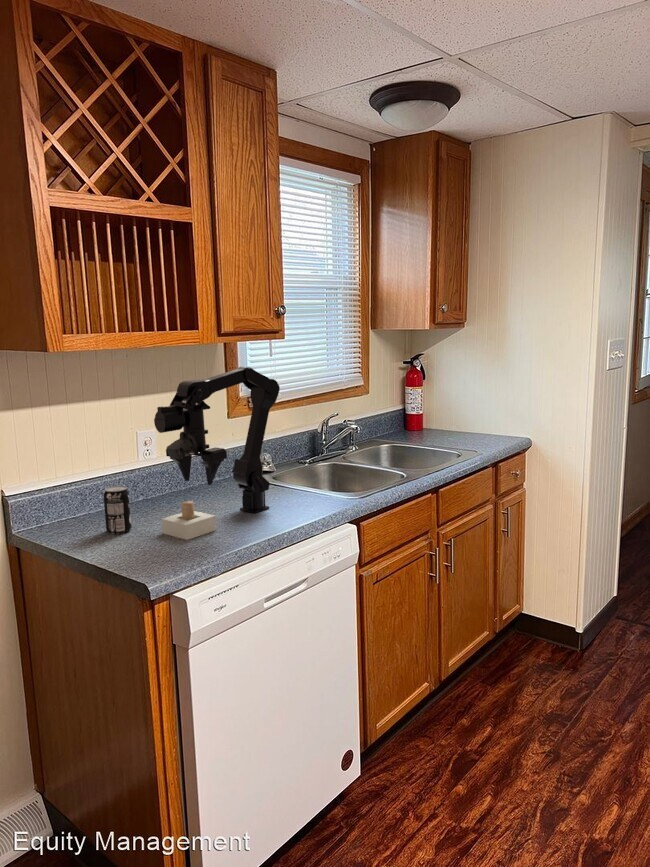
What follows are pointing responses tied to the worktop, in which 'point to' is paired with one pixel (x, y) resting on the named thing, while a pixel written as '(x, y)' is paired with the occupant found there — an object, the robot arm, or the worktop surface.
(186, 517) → the peg
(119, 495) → the beverage can
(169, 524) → the socket
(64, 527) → the worktop surface
